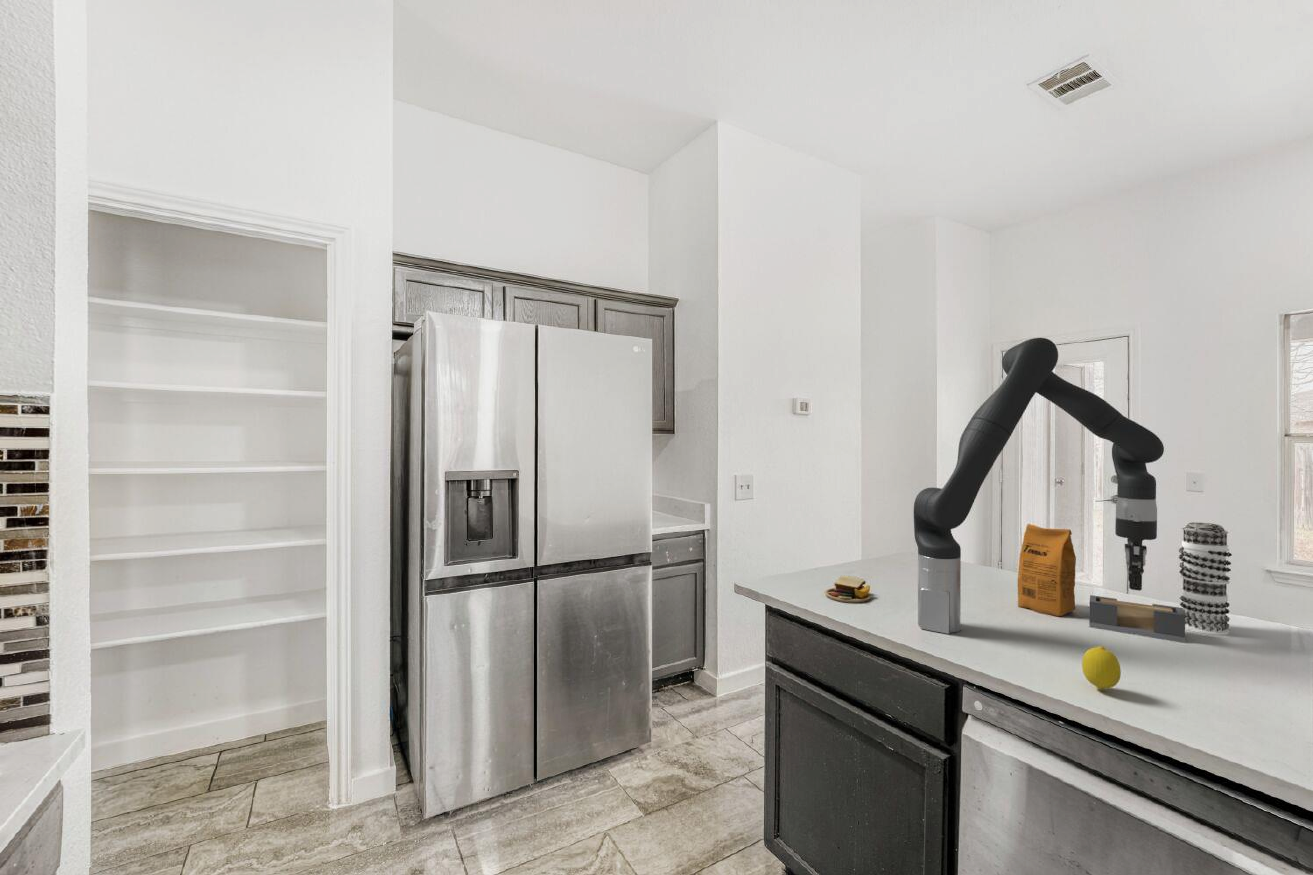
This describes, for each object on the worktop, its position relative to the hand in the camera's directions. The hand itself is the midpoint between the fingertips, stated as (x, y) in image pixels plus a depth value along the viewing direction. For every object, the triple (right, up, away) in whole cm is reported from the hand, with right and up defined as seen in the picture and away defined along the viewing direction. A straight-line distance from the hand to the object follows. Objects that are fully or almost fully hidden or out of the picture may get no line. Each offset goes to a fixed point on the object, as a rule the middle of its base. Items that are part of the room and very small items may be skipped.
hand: (1134, 585), depth 136 cm
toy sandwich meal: (-59, -11, +28) cm, 66 cm away
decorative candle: (+17, -11, +1) cm, 20 cm away
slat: (0, -9, 0) cm, 9 cm away
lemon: (-32, -11, -31) cm, 46 cm away
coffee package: (-10, -11, +16) cm, 22 cm away
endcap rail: (0, -10, 0) cm, 10 cm away
